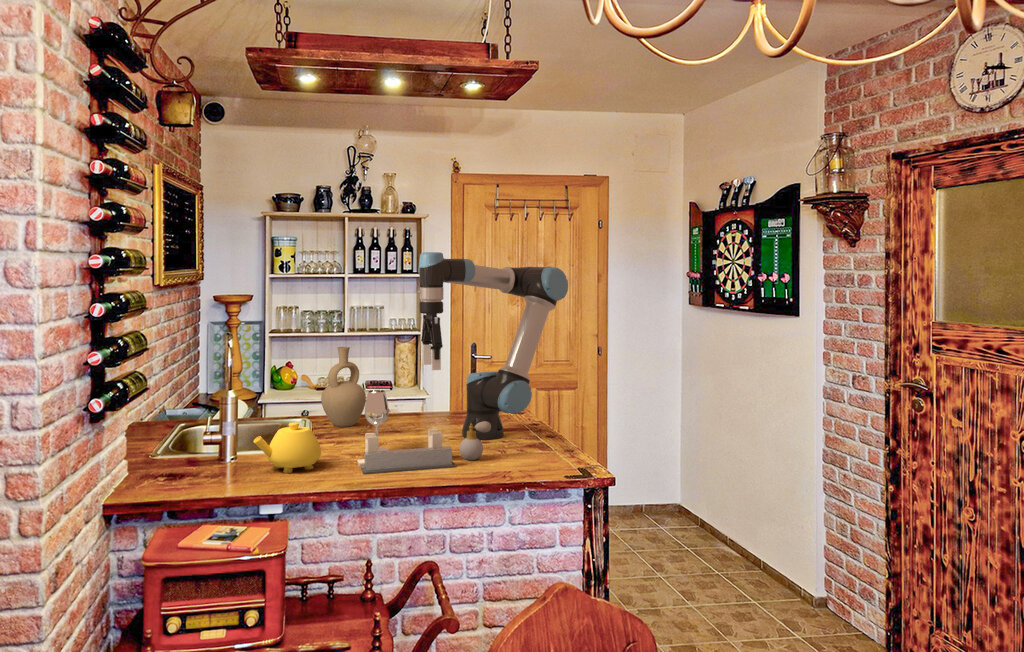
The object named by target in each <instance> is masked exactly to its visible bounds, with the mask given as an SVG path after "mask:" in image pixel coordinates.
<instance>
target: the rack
mask: <svg viewBox="0 0 1024 652" xmlns="http://www.w3.org/2000/svg"><path fill="white" fill-rule="evenodd" d="M427 431H428V433H427V434H428V441H427V443H428V445H427V448H431V447H443V433H442V432H439V429H438V428H432V429H428V430H427ZM364 436H365V437H364V438H365V439H364V441H365V443H364V445H365V449H364V450H365V451H364V452H372V451H378V445H379V435H378V436H376V432H367V433H365V435H364ZM357 465H358V466H359V467H360V468H363V467H365V459H364V458H362V459H357Z"/></svg>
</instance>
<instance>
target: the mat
mask: <svg viewBox="0 0 1024 652" xmlns="http://www.w3.org/2000/svg"><path fill="white" fill-rule="evenodd" d="M448 468H449V469H452V468H457V465H456V464H455V463H454V462H453V461H452V465H445V466H432V467H419V468H405V469H392V470H379V471H366V470H365V466H364V467H360V470H361V472H362V474H363V475H373V474H386V473H400V472H411V471H424V470H436V469H437V470H438V469H448Z"/></svg>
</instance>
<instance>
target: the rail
mask: <svg viewBox="0 0 1024 652" xmlns="http://www.w3.org/2000/svg"><path fill="white" fill-rule="evenodd" d="M363 459H365V466H364V467H365V470H366V471H379V470H392V469H405V468H419V467H432V466H445V465H452V462H453V448H451V446H450V445H447V446H442V447H431V448H428V447H422V448H421V447H418V448H406V449H405V448H404V449H402V448H401V449H388V450H386V451H372V452H365V451H364V458H363Z"/></svg>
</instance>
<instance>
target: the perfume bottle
mask: <svg viewBox="0 0 1024 652" xmlns="http://www.w3.org/2000/svg"><path fill="white" fill-rule="evenodd" d="M472 425H473V424H472V423H471V424H470V426H469V429H470V430H469V431H467V437H466V438H465V437H464V439H463V440H462V441H461V442H460V444H459V453H460V456H461V457H462V458H463V459H465V460H467V461H476V460H478V459H480V457H481V456H482V454H483V451H484V445H483V443H482V440H480V439H478V438H477V437H476V431H473V428H475V429H476V430H477V431H480V432H488V431H490V429H491V424H490V423H489V422H486V421H483V422H480V423H478V424H476V425H475V426H474V427H473V426H472Z"/></svg>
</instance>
